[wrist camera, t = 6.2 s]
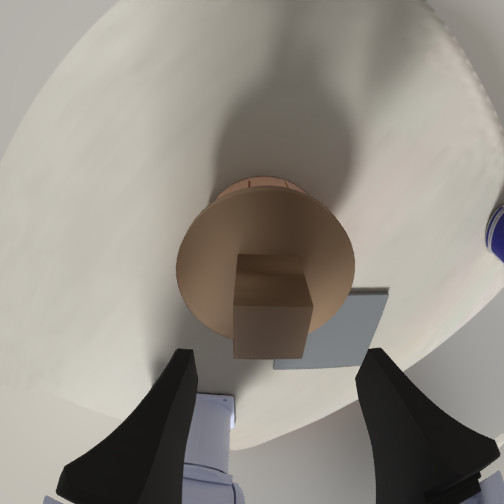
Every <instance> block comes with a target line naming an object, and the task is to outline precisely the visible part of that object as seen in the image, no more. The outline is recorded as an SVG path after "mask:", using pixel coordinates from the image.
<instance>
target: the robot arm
mask: <svg viewBox="0 0 504 504" xmlns="http://www.w3.org/2000/svg"><path fill="white" fill-rule="evenodd" d="M355 380H356V387H357V393H358V398H359V402H360V405H361V409H362V412H363V416H364V419H365V422H366V425H367V429H368V433H369V436H370V440H371V445H372V450H373V457H374V466H375V477H376V504H504V482H503V478H502V475H501V473H500V471H497V472H496V473H494V474H493V475H491V476H490V477H488V478H486V479H485V480H483V481H482V482H480V483H479V481H478V479H479V478H480V477H481V474H480V471H481V470H483V469H484V468H485V467H487V466H488V465H490V464H491V463H492V462H493V461H495V460H496V459H497V458H498V457H500V452H499V449H498V447H497V444H496V442H495V440H493V439H491V438H488V437H486V436H484V435H481V434H479V433H477V432H475V431H473V430H471V429H469V428H468V427H466V426H464V425H462V424H461V423H459V422H458V421H456V420H455V419H453V418H452V417H450V416H449V415H448V414H446V413H445V412H444V411H443V410H441V409H440V408H439V407H438V406H436V405H435V404H434V403H433V402H432V401H431V400H430V399H428V398H427V397H426V396H425V395H424V394H423V393H422V392H421V391H420V390H419V389H418V388H417V387H416V386H415V385H414V384H413V383H412V382H411V381H410V380H409V379H408V377H407V376H406V375H405V374H404V373H403V372H402V371H401V370H400V368H399V367H398V366H397V365H396V364H395V363H394V362H393V361H392V359H391V358H390V357H389V356H388V355H387V354H386V353H385V352H384V351H383V349H382V348H372V349H368V351H367V353H366V356H365V358H364V360H363V362H362V365H361V367H360V369H359V371H358V373H357V375H356V378H355ZM197 385H198V377H197V371H196V365H195V359H194V353H193V350H190V349H177V350H176V351H175V353H174V354H173V356H172V358H171V360H170V361H169V363H168V365H167V366H166V368H165V369H164V371H163V372H162V374H161V376H160V377H159V378H158V380H157V381H156V383H155V384H154V386H153V387H152V388H151V390H150V391H149V392H148V394H147V395H146V396H145V397H144V399H143V400H142V401H141V403H140V404H139V405H138V406H137V407H136V409H135V410H134V411H133V412H132V413H131V414H130V415H129V416H128V417H127V418H126V420H125V421H124V422H123V423H122V424H121V425H120V426H118V427H117V428H116V429H115V430H114V431H113V432H112V433H111V434H110V435H109V436H108V437H106V438H105V439H104V440H103V441H101V442H100V443H99V444H97V445H96V446H95V447H94V448H92V449H91V450H90V451H88V452H87V453H85V454H84V455H82V456H81V457H79V458H77V459H76V460H74V461H72V462H71V463H69V464H67V465H66V466H65V467H64V469H63V471H62V473H61V475H60V478H59V482H58V485H57V489H56V493H57V495H59V496H61V497H63V498H64V499H66V500H68V501H70V502H72V503H75V504H245V498H244V493H243V490H242V488H241V487H240V486H239V484H237V483H236V482H232V478H233V476H232V475H229V474H228V462H229V442H230V429H232V428H234V427H235V418H234V397H233V396H227V395H210V394H198V393H197ZM43 504H62V503H61V502H58V501H57V500H54V499H53V498H51V497H49V496H45V498H44V502H43Z"/></svg>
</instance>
